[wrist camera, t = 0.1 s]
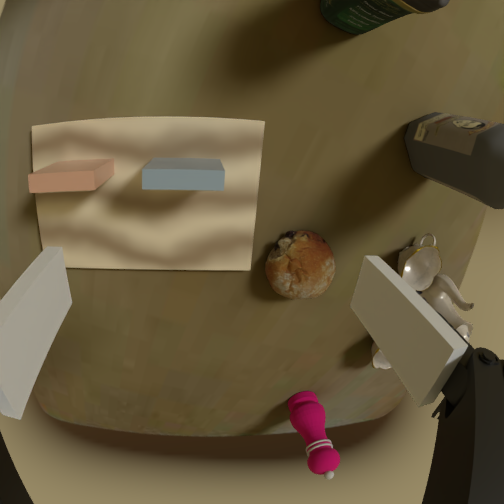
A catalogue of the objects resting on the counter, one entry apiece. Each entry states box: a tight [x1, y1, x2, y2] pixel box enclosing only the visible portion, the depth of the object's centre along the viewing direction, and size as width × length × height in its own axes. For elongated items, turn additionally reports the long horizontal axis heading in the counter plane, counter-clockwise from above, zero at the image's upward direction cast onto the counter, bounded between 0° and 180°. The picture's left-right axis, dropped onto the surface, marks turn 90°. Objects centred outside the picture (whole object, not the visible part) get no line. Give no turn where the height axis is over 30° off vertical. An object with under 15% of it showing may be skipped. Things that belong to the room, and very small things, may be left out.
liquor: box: [404, 112, 504, 209], centre depth 27 cm, size 9×9×30 cm
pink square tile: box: [28, 158, 114, 193], centre depth 30 cm, size 2×8×8 cm, turn 85°
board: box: [32, 116, 265, 270], centre depth 37 cm, size 20×30×1 cm, turn 85°
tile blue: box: [142, 158, 225, 191], centre depth 33 cm, size 2×8×8 cm, turn 85°
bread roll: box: [265, 230, 336, 299], centre depth 44 cm, size 10×10×8 cm
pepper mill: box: [288, 391, 340, 479], centre depth 52 cm, size 7×7×20 cm
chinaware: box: [371, 234, 474, 370], centre depth 46 cm, size 28×17×17 cm, turn 2°
